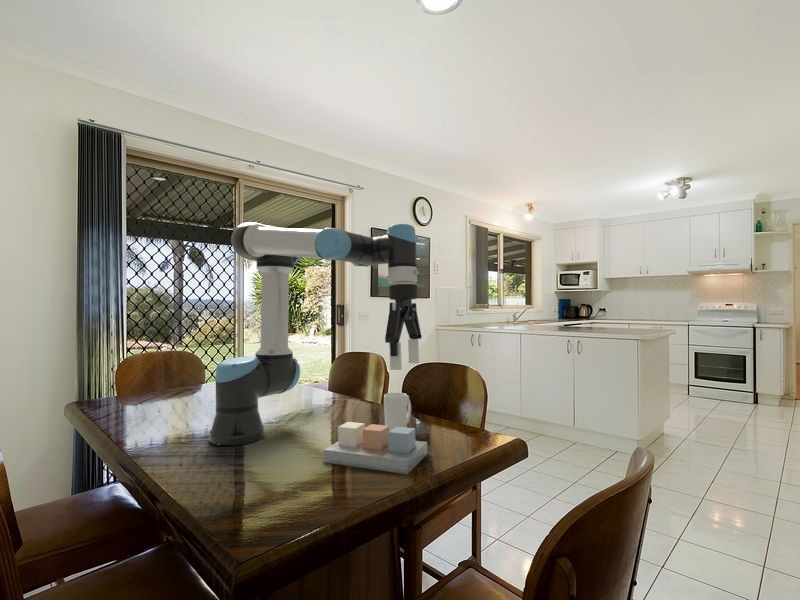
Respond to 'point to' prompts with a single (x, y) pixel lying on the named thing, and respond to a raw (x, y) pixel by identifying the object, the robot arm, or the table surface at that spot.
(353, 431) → the cream cube
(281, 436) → the table surface
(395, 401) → the mug
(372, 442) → the terracotta key
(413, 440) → the slate key
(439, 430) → the table surface
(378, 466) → the grey slotted board
